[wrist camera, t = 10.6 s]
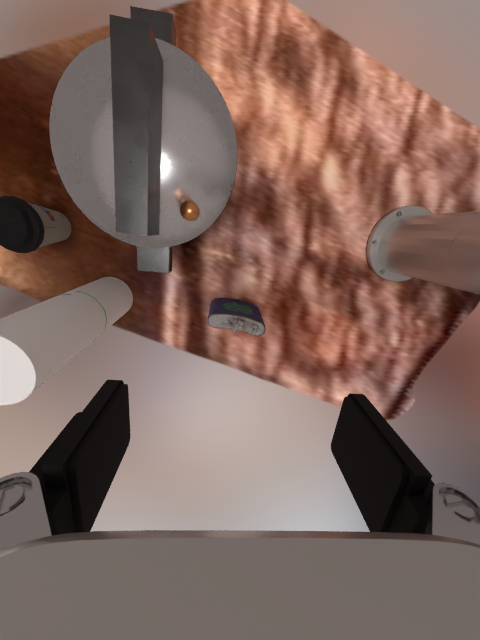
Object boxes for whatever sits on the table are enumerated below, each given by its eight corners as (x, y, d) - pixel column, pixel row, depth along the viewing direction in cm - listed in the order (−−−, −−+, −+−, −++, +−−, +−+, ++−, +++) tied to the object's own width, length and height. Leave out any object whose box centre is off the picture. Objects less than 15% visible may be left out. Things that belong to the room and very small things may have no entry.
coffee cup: (71, 256, 43) (28, 264, 33) (28, 235, 41) (-30, 237, 32) (85, 216, 41) (43, 213, 31) (39, 193, 39) (-19, 182, 30)
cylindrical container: (85, 278, 44) (-73, 336, 20) (127, 274, 44) (17, 327, 21) (97, 317, 46) (-33, 409, 23) (137, 313, 47) (47, 400, 23)
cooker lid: (46, 23, 24) (-9, -40, 18) (247, 64, 26) (254, 18, 20) (65, 236, 30) (29, 238, 25) (226, 256, 32) (227, 262, 27)
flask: (209, 309, 47) (205, 331, 37) (212, 294, 46) (209, 312, 36) (257, 318, 48) (266, 342, 38) (261, 304, 47) (271, 324, 37)
